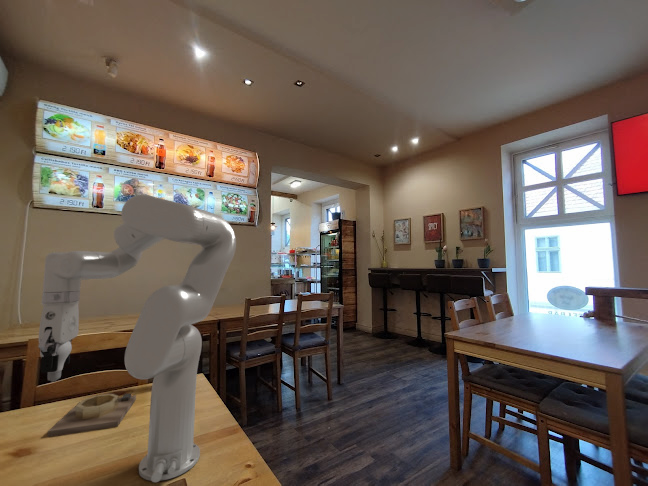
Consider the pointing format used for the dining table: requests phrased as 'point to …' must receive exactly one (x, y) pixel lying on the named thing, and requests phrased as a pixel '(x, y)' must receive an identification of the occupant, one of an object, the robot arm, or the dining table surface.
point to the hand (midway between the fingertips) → (55, 367)
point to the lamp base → (92, 419)
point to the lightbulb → (59, 359)
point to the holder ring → (96, 406)
